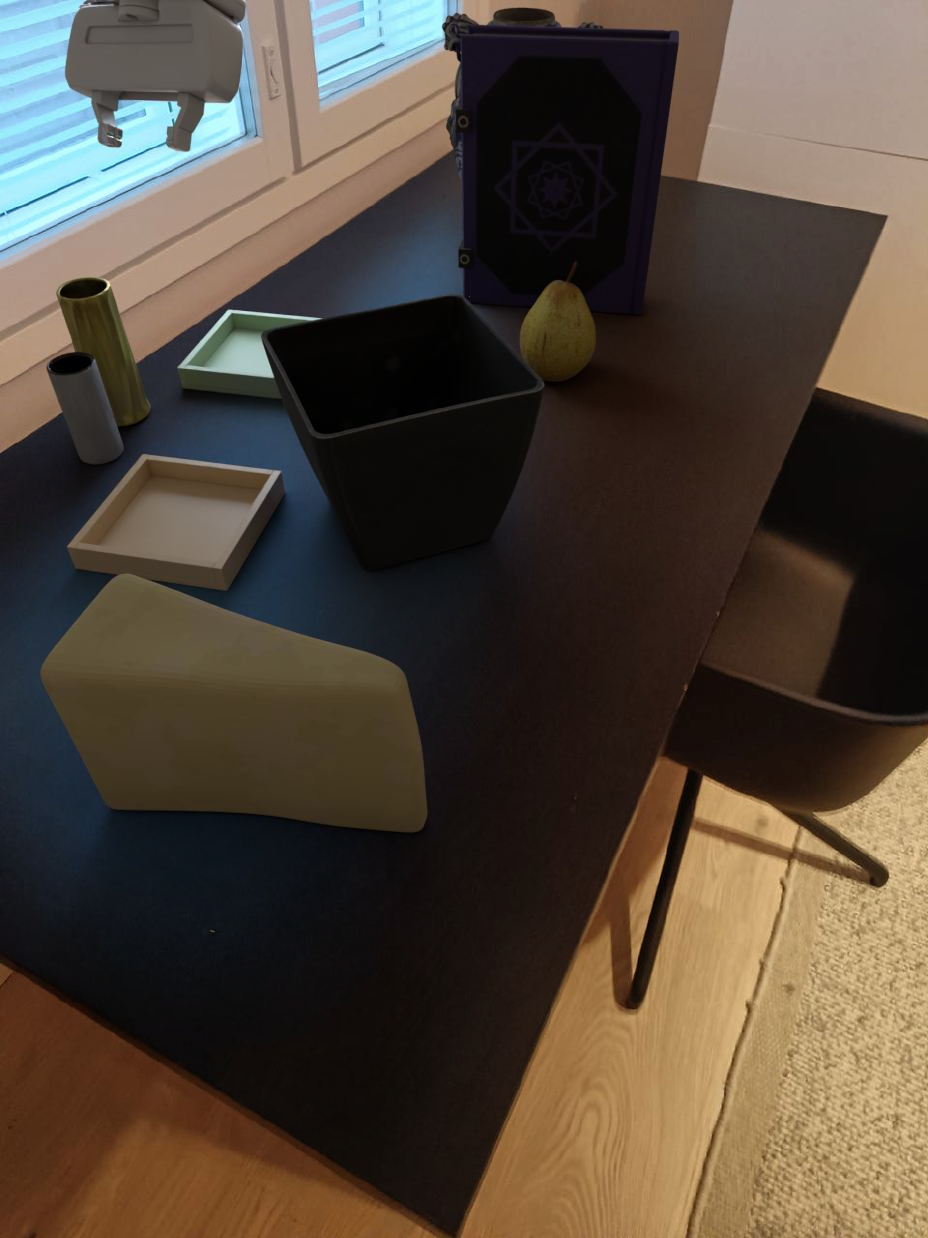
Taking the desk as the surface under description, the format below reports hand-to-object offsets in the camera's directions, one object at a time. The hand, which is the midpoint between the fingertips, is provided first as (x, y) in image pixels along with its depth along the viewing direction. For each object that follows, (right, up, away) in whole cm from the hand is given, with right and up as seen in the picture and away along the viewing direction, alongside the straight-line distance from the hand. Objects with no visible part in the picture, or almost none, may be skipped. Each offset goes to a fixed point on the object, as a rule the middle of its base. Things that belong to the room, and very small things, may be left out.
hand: (142, 147), depth 88 cm
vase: (-6, -24, +11) cm, 27 cm away
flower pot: (+26, -37, -2) cm, 45 cm away
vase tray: (+8, -16, +19) cm, 26 cm away
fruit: (+42, -17, +17) cm, 49 cm away
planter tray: (+5, -38, -3) cm, 38 cm away
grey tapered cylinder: (-6, -29, +6) cm, 30 cm away
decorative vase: (+39, +10, +44) cm, 60 cm away
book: (+43, -4, +30) cm, 53 cm away
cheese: (+18, -59, -24) cm, 66 cm away
